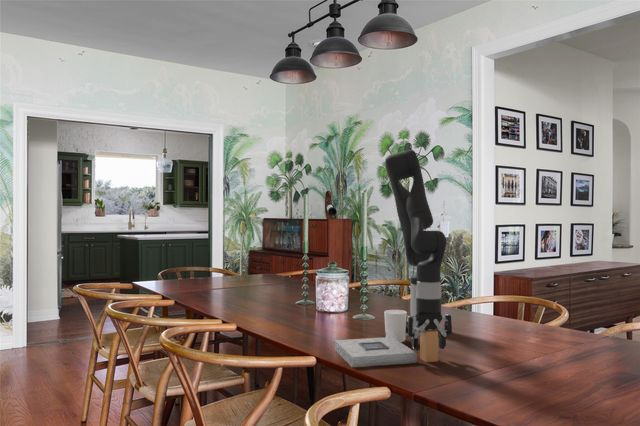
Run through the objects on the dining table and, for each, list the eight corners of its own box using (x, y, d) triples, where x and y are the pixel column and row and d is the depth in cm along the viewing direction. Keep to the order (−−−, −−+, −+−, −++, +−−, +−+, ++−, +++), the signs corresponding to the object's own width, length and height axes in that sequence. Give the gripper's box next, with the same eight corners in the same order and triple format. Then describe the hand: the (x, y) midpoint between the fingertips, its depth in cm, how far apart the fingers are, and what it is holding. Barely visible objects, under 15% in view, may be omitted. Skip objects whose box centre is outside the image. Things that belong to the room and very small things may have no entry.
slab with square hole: (392, 345, 171) (392, 335, 171) (416, 362, 152) (416, 351, 152) (334, 349, 167) (334, 339, 167) (352, 367, 147) (352, 356, 147)
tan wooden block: (432, 357, 157) (432, 328, 157) (438, 361, 154) (437, 331, 154) (420, 358, 157) (420, 329, 157) (425, 362, 153) (425, 332, 153)
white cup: (389, 343, 174) (389, 314, 174) (380, 338, 182) (380, 310, 182) (410, 342, 176) (410, 313, 176) (401, 336, 184) (401, 309, 184)
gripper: (444, 293, 160) (444, 344, 160) (402, 295, 157) (402, 347, 157) (456, 297, 153) (456, 351, 153) (411, 299, 150) (411, 354, 150)
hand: (428, 349), depth 155 cm, fingers open, 8 cm apart
